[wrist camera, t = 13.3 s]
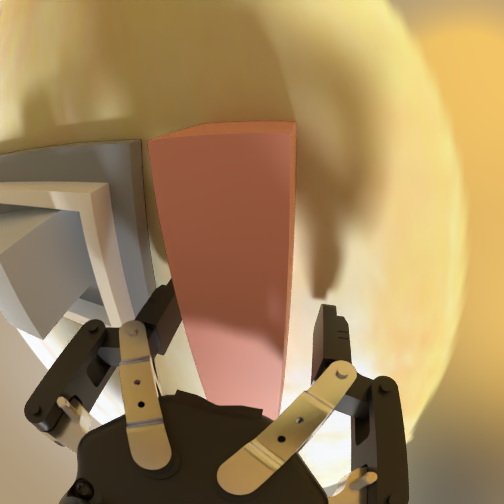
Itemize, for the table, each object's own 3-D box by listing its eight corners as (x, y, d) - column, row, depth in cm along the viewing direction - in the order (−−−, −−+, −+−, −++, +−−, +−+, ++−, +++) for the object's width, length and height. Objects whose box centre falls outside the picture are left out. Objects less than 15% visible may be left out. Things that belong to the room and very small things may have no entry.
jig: (166, 340, 19) (153, 365, 17) (6, 279, 22) (-7, 292, 20) (141, 139, 12) (110, 150, 10) (-28, 161, 14) (-46, 170, 12)
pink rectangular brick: (284, 381, 20) (275, 438, 16) (233, 375, 20) (218, 429, 16) (296, 121, 11) (290, 133, 6) (204, 123, 11) (147, 140, 7)
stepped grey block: (99, 275, 16) (43, 339, 11) (6, 263, 18) (-33, 300, 13) (74, 201, 13) (-3, 256, 8) (-12, 216, 16) (-56, 250, 11)
